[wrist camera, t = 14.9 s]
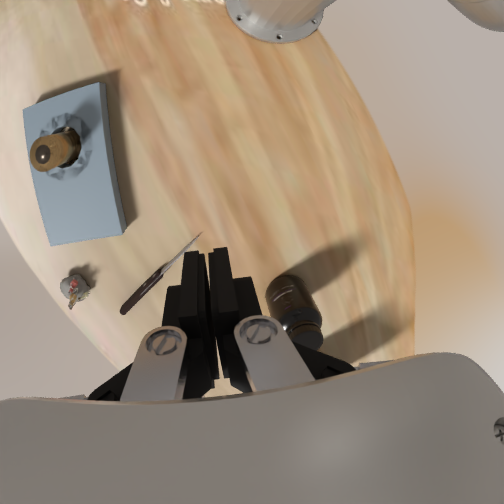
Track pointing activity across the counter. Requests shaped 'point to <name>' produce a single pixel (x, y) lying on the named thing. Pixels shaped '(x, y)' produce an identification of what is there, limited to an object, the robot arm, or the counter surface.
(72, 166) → the plate
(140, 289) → the kitchen knife
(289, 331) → the supplement bottle
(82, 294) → the figurine
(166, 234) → the counter surface
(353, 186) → the counter surface
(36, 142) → the amber peg
